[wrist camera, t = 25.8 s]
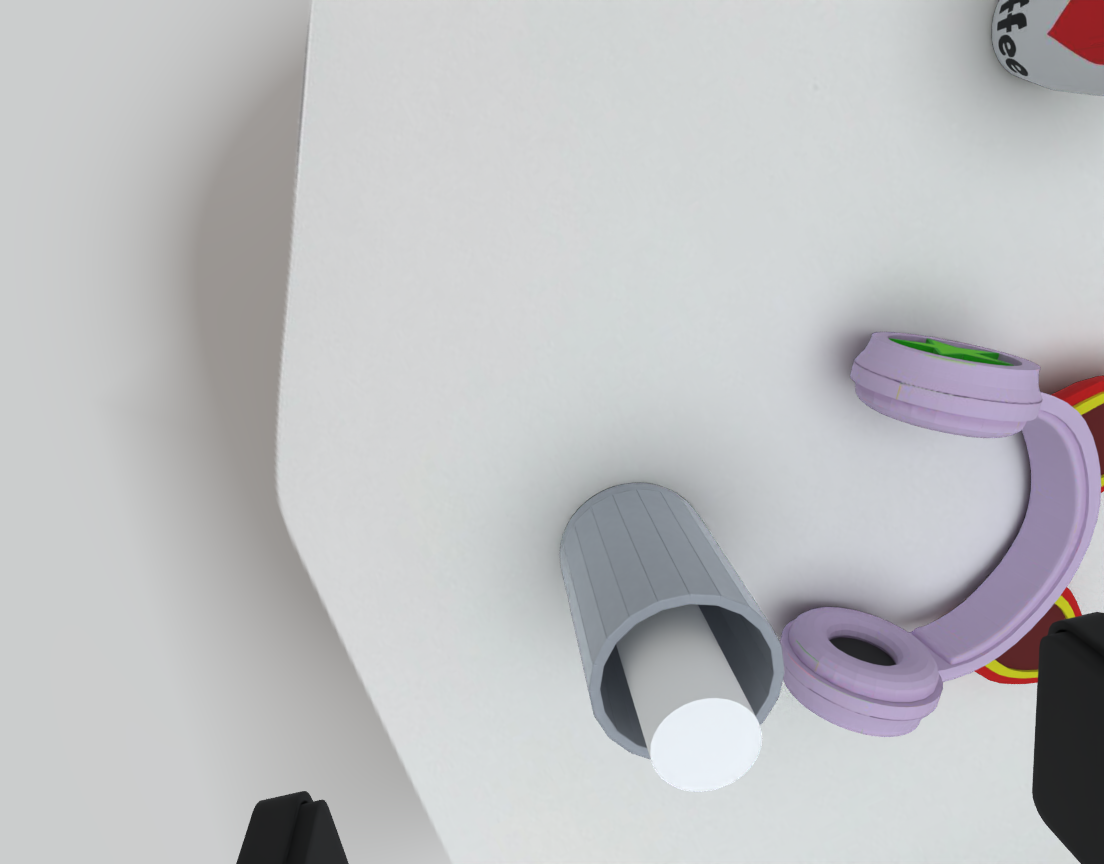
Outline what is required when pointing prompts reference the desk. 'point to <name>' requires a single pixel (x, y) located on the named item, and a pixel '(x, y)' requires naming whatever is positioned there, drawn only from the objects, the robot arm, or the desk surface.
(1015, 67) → the cup
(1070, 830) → the robot arm
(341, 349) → the desk surface
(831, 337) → the desk surface
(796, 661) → the headphones
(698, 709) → the tube
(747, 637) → the pen holder
